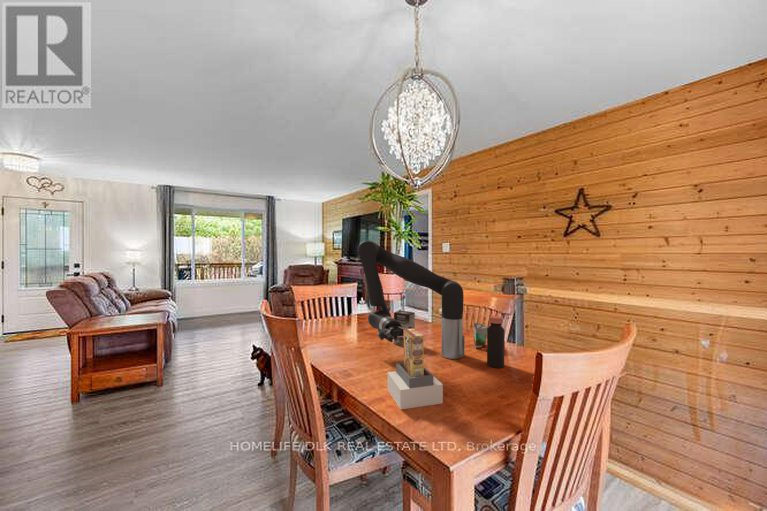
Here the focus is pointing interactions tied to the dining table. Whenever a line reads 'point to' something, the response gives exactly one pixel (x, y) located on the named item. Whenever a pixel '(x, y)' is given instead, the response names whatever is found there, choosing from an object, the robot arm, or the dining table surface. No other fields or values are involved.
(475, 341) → the food container
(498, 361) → the bottle
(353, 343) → the dining table surface
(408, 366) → the candy box
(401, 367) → the stand
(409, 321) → the coffee box
